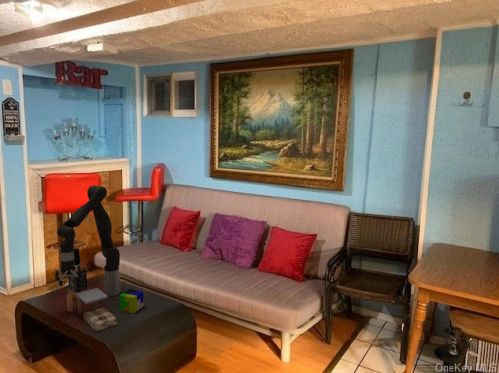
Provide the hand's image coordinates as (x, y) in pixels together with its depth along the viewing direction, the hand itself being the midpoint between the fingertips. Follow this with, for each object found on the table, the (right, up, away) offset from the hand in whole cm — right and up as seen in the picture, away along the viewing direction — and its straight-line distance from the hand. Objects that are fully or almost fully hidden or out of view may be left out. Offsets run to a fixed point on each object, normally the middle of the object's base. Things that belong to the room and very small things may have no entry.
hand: (68, 284), depth 238 cm
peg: (0, -17, +3) cm, 17 cm away
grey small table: (+16, -18, -3) cm, 24 cm away
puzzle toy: (+37, -17, +7) cm, 41 cm away
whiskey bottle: (-5, -13, +25) cm, 29 cm away
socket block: (+23, -19, -11) cm, 32 cm away
